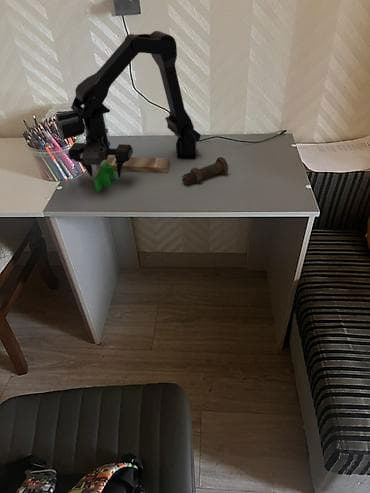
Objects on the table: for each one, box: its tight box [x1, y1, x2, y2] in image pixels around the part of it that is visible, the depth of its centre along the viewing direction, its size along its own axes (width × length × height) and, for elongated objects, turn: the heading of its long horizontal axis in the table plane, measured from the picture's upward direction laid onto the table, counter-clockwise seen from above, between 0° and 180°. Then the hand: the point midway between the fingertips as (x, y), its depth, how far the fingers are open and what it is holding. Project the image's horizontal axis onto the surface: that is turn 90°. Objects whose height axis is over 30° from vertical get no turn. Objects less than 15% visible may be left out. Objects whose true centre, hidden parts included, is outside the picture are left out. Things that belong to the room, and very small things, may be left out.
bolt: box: [181, 156, 229, 185], centre depth 119 cm, size 6×5×15 cm
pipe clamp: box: [93, 161, 116, 193], centre depth 119 cm, size 11×4×5 cm, turn 172°
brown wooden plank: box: [95, 155, 171, 174], centre depth 126 cm, size 24×6×2 cm, turn 82°
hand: (105, 176), depth 119 cm, fingers open, 9 cm apart
